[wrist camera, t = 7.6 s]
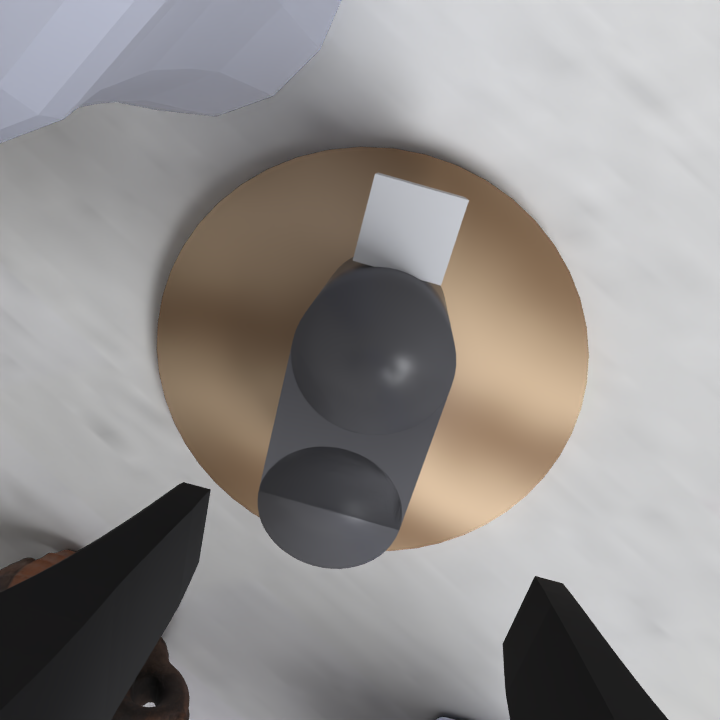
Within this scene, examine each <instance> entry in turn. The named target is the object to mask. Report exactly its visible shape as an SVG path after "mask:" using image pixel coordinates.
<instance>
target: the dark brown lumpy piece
mask: <svg viewBox="0 0 720 720" xmlns="http://www.w3.org/2000/svg"><path fill="white" fill-rule="evenodd" d="M74 553H75V552H74V551H71V550H63V551H60V552H57V553H48V554H46V555H45V556H44V557H42V558H40V559H37V560H35V559H33V558H25V559H22V560H20V561H18V562H16V563H13V564H11V565H9V566H7V567H5V568H3V569H1V570H0V592H2V591H4V590H6V589H8V588H10V587H12V586H14V585H16V584H18V583H20V582H22V581H24V580H26V579H28V578H30V577H32V576H34V575H36V574H38V573H40V572H42V571H43V570H45V569H47V568H49V567H51V566H53V565H55V564H56V563H58V562H60V561H62V560H63V559H65V558H67V557H69V556H70V555H72V554H74ZM148 702H153V703H155V705H156V706H155V707H142V706H143V705H145V704H146V703H148ZM188 707H189V691H188V687H187V684H186V682H185V680H184V678H183V677H182V675H181V674H180V672H179V671H178V670H177V669H176V668H175V667H174V666H173V665H171V663H170V662H169V654H168V650H167V646H166V643H165V642H164V640H163V639H162V637H160V639H159V640H158V642H157V644H156V645H155V647H154V649H153V650H152V652H151V654H150V655H149V657H148V659H147V660H146V662H145V664H144V665H143V667H142V669H141V670H140V672H139V674H138V675H137V677H136V679H135V680H134V682H133V684H132V685H131V687H130V689H129V690H128V692H127V694H126V695H125V697H124V699H123V700H122V702H121V704H120V705H119V707H118V709H117V710H116V712H115V714H114V716H113V718H112V719H111V720H189V708H188Z"/></svg>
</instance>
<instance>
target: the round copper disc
mask: <svg viewBox="0 0 720 720" xmlns="http://www.w3.org/2000/svg"><path fill="white" fill-rule="evenodd" d="M376 173H382V174H385V175H389V176H392V177H396V178H399V179H403V180H406V181H410V182H413V183H417V184H421V185H424V186H428V187H431V188H435V189H438V190H442V191H445V192H449V193H452V194H456V195H459V196H463V197H465V198H467V199H468V200H469V202H468V205H467V208H466V211H465V214H464V217H463V220H462V223H461V226H460V229H459V232H458V235H457V238H456V241H455V244H454V247H453V251H452V254H451V257H450V260H449V263H448V266H447V269H446V272H445V275H444V278H443V281H442V284H441V287H442V290H443V293H444V297H445V301H446V306H447V310H448V315H449V320H450V324H451V329H452V334H453V338H454V343H455V349H456V371H455V376H454V380H453V383H452V386H451V389H450V392H449V395H448V397H447V400H446V403H445V406H444V408H443V411H442V414H441V417H440V420H439V422H438V425H437V428H436V431H435V433H434V436H433V439H432V442H431V444H430V447H429V450H428V453H427V455H426V458H425V461H424V464H423V466H422V469H421V472H420V475H419V477H418V480H417V483H416V486H415V489H414V491H413V494H412V497H411V500H410V502H409V505H408V508H407V511H406V513H405V516H404V519H403V522H402V524H401V527H400V530H399V532H398V534H397V537H396V538H395V540H394V541H393V543H392V544H391V546H390V547H389V548H388V549H387V550H386V551H394V550H403V549H413V548H419V547H424V546H428V545H433V544H437V543H441V542H444V541H447V540H450V539H453V538H456V537H459V536H462V535H465V534H467V533H469V532H471V531H473V530H475V529H477V528H479V527H481V526H484V525H486V524H487V523H489V522H491V521H492V520H494V519H495V518H497V517H499V516H500V515H502V514H503V513H505V512H507V511H508V510H509V509H510V508H512V507H513V506H514V505H515V504H517V503H518V502H519V501H520V500H521V499H523V498H524V497H525V496H526V495H527V494H528V493H529V492H530V491H531V490H532V489H533V488H534V487H535V486H536V485H537V484H538V483H539V482H540V481H541V480H542V479H543V478H544V477H545V475H546V474H547V472H548V471H549V470H550V468H551V467H552V466H553V464H554V463H555V462H556V460H557V459H558V457H559V456H560V454H561V452H562V450H563V449H564V447H565V445H566V443H567V441H568V439H569V438H570V436H571V434H572V431H573V429H574V426H575V423H576V421H577V418H578V415H579V413H580V410H581V406H582V402H583V397H584V393H585V388H586V384H587V372H588V358H589V352H588V339H587V327H586V322H585V318H584V313H583V309H582V305H581V300H580V297H579V295H578V292H577V290H576V287H575V284H574V282H573V279H572V277H571V274H570V272H569V270H568V268H567V266H566V265H565V263H564V261H563V259H562V258H561V256H560V254H559V252H558V250H557V249H556V247H555V245H554V244H553V243H552V241H551V240H550V239H549V238H548V236H547V235H546V234H545V232H544V231H543V230H542V229H541V227H540V226H539V225H538V224H537V222H536V221H535V220H534V219H533V218H532V217H531V216H530V215H529V214H528V213H527V212H526V211H525V210H523V209H522V208H521V207H520V206H519V205H518V204H517V203H516V202H515V201H514V200H513V199H512V198H510V197H509V196H508V195H506V194H505V193H503V192H502V191H500V190H499V189H498V188H496V187H495V186H493V185H492V184H491V183H489V182H488V181H486V180H485V179H483V178H481V177H479V176H477V175H475V174H473V173H471V172H469V171H467V170H465V169H463V168H461V167H459V166H457V165H455V164H452V163H449V162H446V161H443V160H440V159H437V158H434V157H431V156H428V155H425V154H420V153H415V152H410V151H405V150H399V149H394V148H376V147H353V148H342V149H331V150H325V151H321V152H317V153H313V154H309V155H305V156H300V157H297V158H294V159H292V160H289V161H287V162H284V163H282V164H279V165H277V166H274V167H272V168H269V169H267V170H265V171H264V172H262V173H260V174H259V175H257V176H255V177H253V178H252V179H250V180H248V181H246V182H245V183H243V184H241V185H240V186H239V187H238V188H236V189H235V190H234V191H233V192H231V193H230V194H229V195H228V196H226V197H225V198H224V199H223V200H221V201H220V202H219V203H218V204H217V205H216V206H215V207H214V208H213V209H212V210H211V211H210V212H209V213H208V214H207V216H206V217H205V218H204V219H203V220H202V221H201V222H200V223H199V224H198V226H197V227H196V229H195V230H194V231H193V233H192V234H191V236H190V237H189V239H188V240H187V242H186V243H185V244H184V246H183V248H182V250H181V252H180V254H179V256H178V258H177V260H176V262H175V264H174V266H173V268H172V270H171V272H170V275H169V278H168V281H167V284H166V287H165V290H164V293H163V296H162V302H161V307H160V313H159V319H158V330H157V355H158V365H159V374H160V379H161V383H162V387H163V391H164V396H165V399H166V402H167V405H168V407H169V410H170V413H171V415H172V418H173V421H174V423H175V425H176V427H177V429H178V431H179V433H180V434H181V436H182V438H183V440H184V442H185V444H186V445H187V447H188V448H189V450H190V451H191V453H192V454H193V456H194V457H195V459H196V460H197V461H198V463H199V464H200V465H201V467H202V468H203V469H204V470H205V471H206V472H207V473H208V475H209V476H210V477H211V478H212V479H213V480H214V482H215V483H216V484H218V485H219V486H220V487H221V488H222V489H223V490H224V491H225V492H226V493H227V494H228V495H229V496H231V497H232V498H233V499H234V500H235V501H237V502H238V503H239V504H241V505H242V506H244V507H245V508H246V509H248V510H249V511H250V512H252V513H253V514H255V515H257V516H258V517H260V516H259V512H258V492H259V487H260V483H261V478H262V474H263V469H264V465H265V461H266V456H267V452H268V447H269V443H270V438H271V434H272V430H273V425H274V421H275V416H276V412H277V408H278V403H279V399H280V394H281V390H282V386H283V381H284V377H285V372H286V368H287V363H288V359H289V355H290V350H291V346H292V341H293V338H294V334H295V331H296V328H297V326H298V324H299V322H300V320H301V319H302V317H303V315H304V314H305V312H306V311H307V310H308V308H309V307H310V305H311V304H312V303H313V301H314V300H315V299H316V297H317V296H318V294H319V293H320V292H321V290H322V289H323V288H324V286H325V285H326V283H327V282H328V281H329V279H330V278H331V277H332V275H333V274H334V273H335V272H336V270H337V269H338V268H339V267H340V266H341V265H342V264H343V263H345V262H346V261H347V260H349V259H350V258H352V257H354V254H355V250H356V246H357V242H358V238H359V234H360V230H361V226H362V222H363V219H364V215H365V211H366V207H367V203H368V199H369V195H370V191H371V187H372V183H373V180H374V176H375V174H376Z"/></svg>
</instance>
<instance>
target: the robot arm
mask: <svg viewBox="0 0 720 720" xmlns="http://www.w3.org/2000/svg"><path fill="white" fill-rule="evenodd" d="M209 496H210V489H207V488H203V487H199V486H195V485H192V484H188V483H184V482H183V483H181V484H179V485H177V486H176V487H175V488H173V489H172V490H170V491H169V492H168V493H166V494H165V495H163V496H162V497H161V498H159V499H158V500H156V501H155V502H153V503H152V504H151V505H149V506H148V507H146V508H145V509H143V510H142V511H140V512H139V513H137V514H136V515H135V516H133V517H132V518H130V519H128V520H127V521H125V522H124V523H122V524H121V525H119V526H118V527H116V528H115V529H113V530H112V531H110V532H108V533H107V534H105V535H104V536H102V537H101V538H99V539H97V540H96V541H94V542H92V543H91V544H89V545H87V546H86V547H84V548H82V549H80V550H79V551H77V552H75V553H74V554H72V555H70V556H69V557H67V558H65V559H63V560H62V561H60V562H58V563H56V564H55V565H53V566H51V567H49V568H47V569H45V570H43V571H42V572H40V573H38V574H36V575H34V576H32V577H30V578H28V579H26V580H24V581H22V582H20V583H18V584H16V585H14V586H12V587H10V588H8V589H6V590H4V591H2V592H0V720H111V719H112V718H113V716H114V714H115V712H116V710H117V709H118V707H119V705H120V704H121V702H122V700H123V699H124V697H125V695H126V694H127V692H128V690H129V689H130V687H131V685H132V684H133V682H134V680H135V679H136V677H137V675H138V674H139V672H140V670H141V669H142V667H143V665H144V664H145V662H146V660H147V659H148V657H149V655H150V654H151V652H152V650H153V649H154V647H155V645H156V644H157V642H158V640H159V639H160V637H161V635H162V634H163V632H164V630H165V629H166V627H167V625H168V624H169V622H170V620H171V619H172V617H173V615H174V613H175V612H176V610H177V608H178V607H179V604H180V602H181V600H182V598H183V596H184V594H185V592H186V590H187V587H188V585H189V583H190V581H191V579H192V576H193V574H194V572H195V570H196V567H197V565H198V563H199V558H200V552H201V546H202V540H203V533H204V527H205V521H206V515H207V509H208V503H209ZM503 658H504V676H505V689H506V698H507V704H508V710H509V715H510V720H668V719H667V717H666V716H665V715H664V714H663V713H662V711H661V710H660V709H659V708H658V707H657V705H656V704H655V703H654V702H653V701H652V699H651V698H650V697H649V696H648V694H647V693H646V692H645V691H644V689H643V688H642V687H641V686H640V684H639V683H638V682H637V681H636V679H635V678H634V677H633V675H632V674H631V673H630V672H629V670H628V669H627V668H626V666H625V665H624V664H623V662H622V661H621V660H620V659H619V657H618V656H617V655H616V653H615V652H614V651H613V649H612V648H611V647H610V645H609V644H608V643H607V641H606V640H605V639H604V637H603V636H602V635H601V633H600V632H599V631H598V629H597V628H596V626H595V625H594V624H593V622H592V621H591V620H590V618H589V617H588V616H587V614H586V613H585V612H584V610H583V609H582V608H581V606H580V605H579V604H578V602H577V601H576V600H575V598H574V597H573V596H572V594H571V593H570V592H569V591H568V589H567V588H566V587H565V586H564V584H563V583H559V582H555V581H552V580H548V579H544V578H540V577H537V576H535V577H534V579H533V581H532V584H531V586H530V588H529V590H528V592H527V594H526V596H525V598H524V600H523V602H522V605H521V607H520V609H519V611H518V613H517V615H516V617H515V619H514V621H513V623H512V625H511V628H510V630H509V632H508V634H507V636H506V638H505V640H504V642H503ZM436 720H454V719H450V718H447V717H440V718H438V719H436Z"/></svg>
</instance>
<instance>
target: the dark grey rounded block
mask: <svg viewBox="0 0 720 720" xmlns="http://www.w3.org/2000/svg"><path fill="white" fill-rule="evenodd" d="M468 202H469V200H468V199H467V198H465V197H463V196H459V195H456V194H452V193H449V192H445V191H442V190H438V189H435V188H431V187H428V186H424V185H421V184H417V183H413V182H410V181H406V180H403V179H399V178H396V177H392V176H389V175H385V174H382V173H376V174H375V176H374V180H373V183H372V187H371V191H370V195H369V199H368V203H367V207H366V211H365V215H364V219H363V222H362V226H361V230H360V234H359V238H358V242H357V246H356V250H355V254H354V257H352V258H350V259H349V260H347V261H346V262H345V263H343V264H342V265H341V266H340V267H339V268H338V269H337V270H336V272H335V273H334V274H333V275H332V277H331V278H330V279H329V281H328V282H327V283H326V285H325V286H324V288H323V289H322V290H321V292H320V293H319V294H318V296H317V297H316V299H315V300H314V301H313V303H312V304H311V305H310V307H309V308H308V310H307V311H306V312H305V314H304V315H303V317H302V319H301V320H300V322H299V324H298V326H297V328H296V331H295V334H294V338H293V341H292V346H291V350H290V355H289V359H288V363H287V368H286V372H285V377H284V381H283V386H282V390H281V394H280V399H279V403H278V408H277V412H276V416H275V421H274V425H273V430H272V434H271V438H270V443H269V447H268V452H267V456H266V461H265V465H264V469H263V474H262V478H261V483H260V487H259V492H258V512H259V516H260V519H261V522H262V524H263V526H264V528H265V530H266V532H267V533H268V535H269V536H270V538H271V539H272V540H273V541H274V542H275V543H276V544H277V545H278V546H279V547H280V548H281V549H282V550H284V551H285V552H286V553H288V554H289V555H291V556H292V557H294V558H296V559H298V560H300V561H302V562H304V563H307V564H310V565H313V566H318V567H322V568H331V569H342V568H350V567H355V566H359V565H362V564H365V563H367V562H370V561H372V560H374V559H375V558H377V557H378V556H380V555H381V554H382V553H384V552H385V551H386V550H387V549H388V548H389V547H390V546H391V544H392V543H393V541H394V540H395V538H396V537H397V534H398V532H399V530H400V527H401V524H402V522H403V519H404V516H405V513H406V511H407V508H408V505H409V502H410V500H411V497H412V494H413V491H414V489H415V486H416V483H417V480H418V477H419V475H420V472H421V469H422V466H423V464H424V461H425V458H426V455H427V453H428V450H429V447H430V444H431V442H432V439H433V436H434V433H435V431H436V428H437V425H438V422H439V420H440V417H441V414H442V411H443V408H444V406H445V403H446V400H447V397H448V395H449V392H450V389H451V386H452V383H453V380H454V376H455V371H456V349H455V343H454V338H453V334H452V329H451V324H450V320H449V315H448V310H447V306H446V301H445V297H444V293H443V290H442V287H441V284H442V281H443V278H444V275H445V272H446V269H447V266H448V263H449V260H450V257H451V254H452V251H453V247H454V244H455V241H456V238H457V235H458V232H459V229H460V226H461V223H462V220H463V217H464V214H465V211H466V208H467V205H468Z"/></svg>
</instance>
